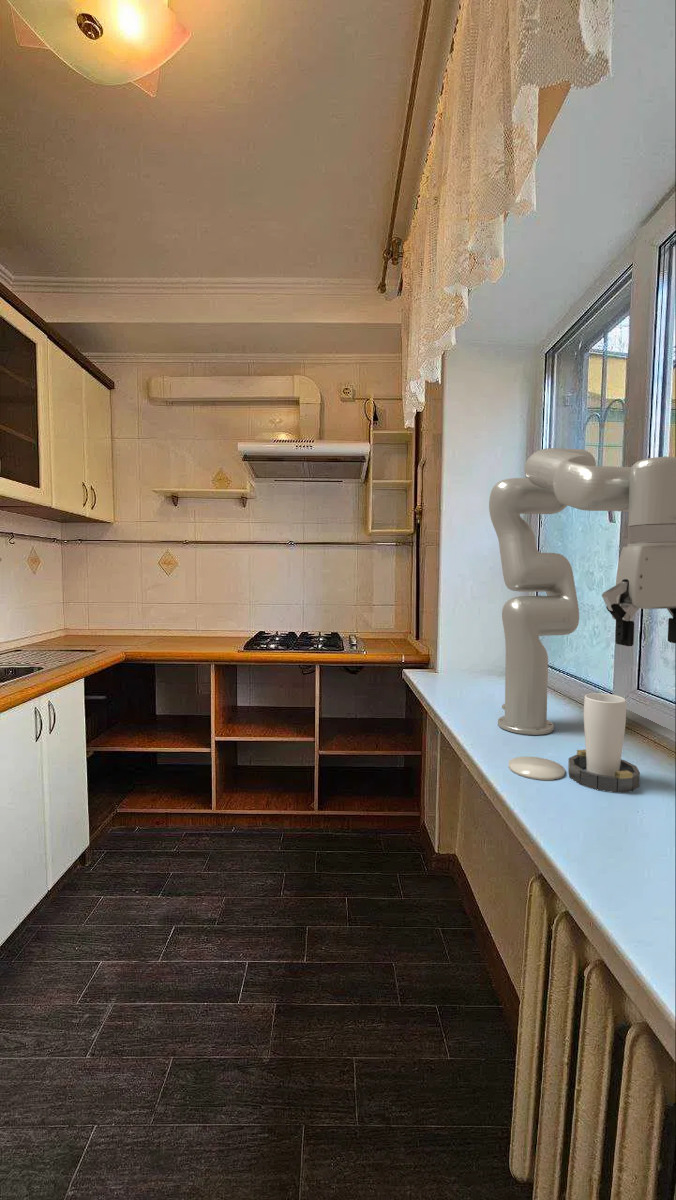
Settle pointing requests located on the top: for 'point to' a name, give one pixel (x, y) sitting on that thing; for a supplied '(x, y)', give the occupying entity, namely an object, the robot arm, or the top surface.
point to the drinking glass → (604, 732)
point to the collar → (622, 782)
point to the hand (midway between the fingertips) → (650, 644)
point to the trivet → (536, 768)
